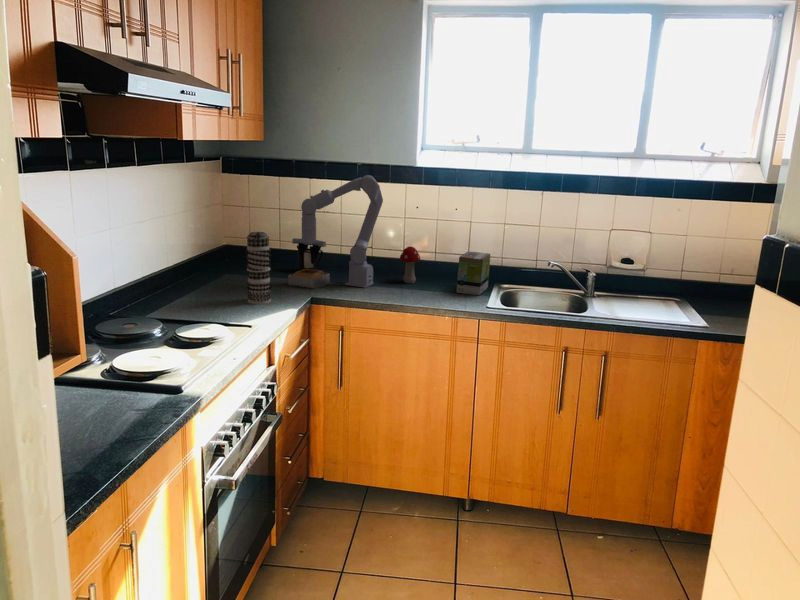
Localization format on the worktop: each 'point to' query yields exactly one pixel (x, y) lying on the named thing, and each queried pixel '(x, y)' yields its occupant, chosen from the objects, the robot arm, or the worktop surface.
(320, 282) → the housing
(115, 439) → the worktop surface
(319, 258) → the mug
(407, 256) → the decorative mushroom
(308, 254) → the canister
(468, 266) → the tea box
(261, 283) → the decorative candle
